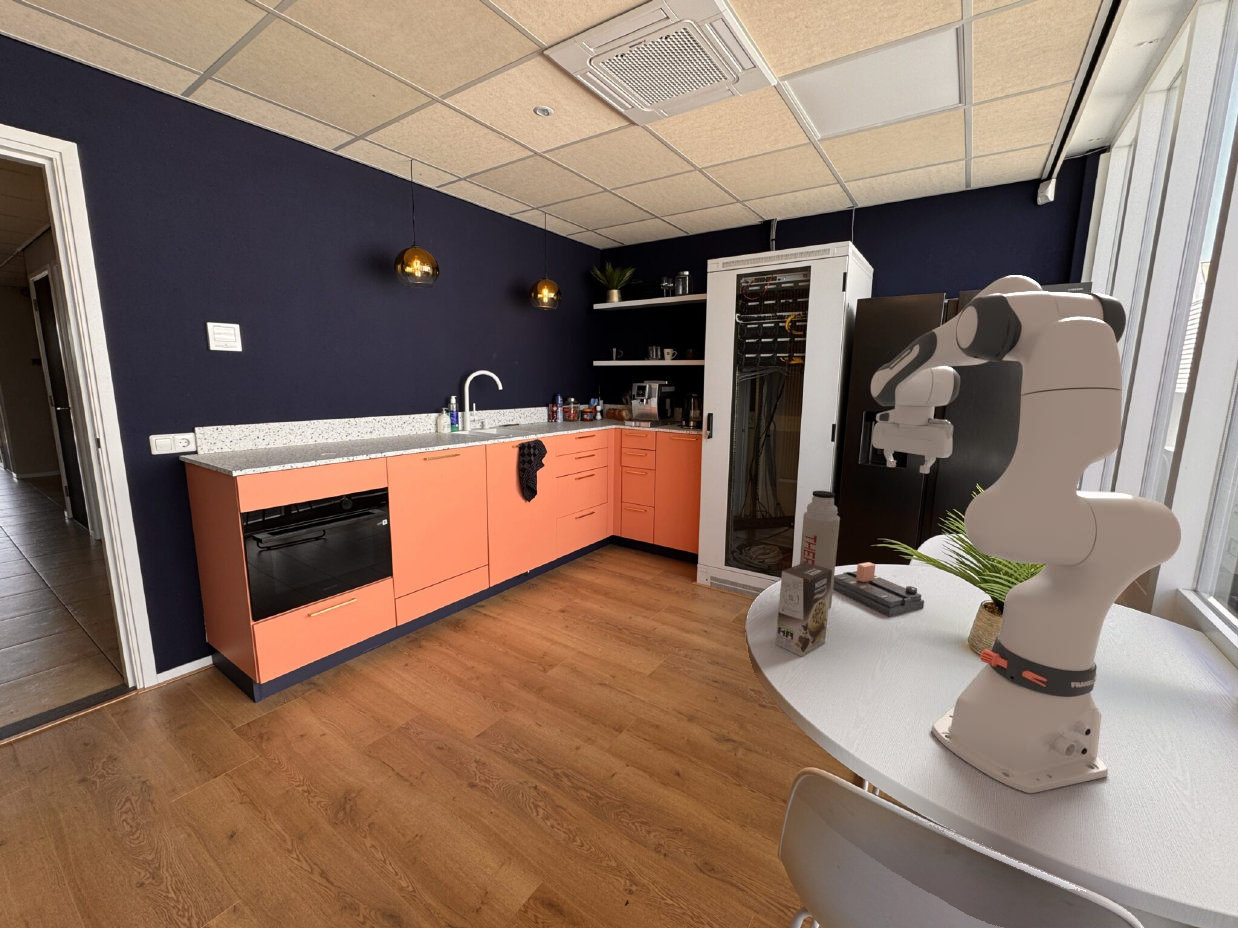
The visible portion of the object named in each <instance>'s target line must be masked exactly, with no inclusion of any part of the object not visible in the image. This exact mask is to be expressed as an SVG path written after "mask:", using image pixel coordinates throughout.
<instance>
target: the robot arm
mask: <svg viewBox="0 0 1238 928" xmlns="http://www.w3.org/2000/svg"><path fill="white" fill-rule="evenodd" d="M1126 326H1127V315H1126V311H1125V309H1124V306H1123V304H1122V302H1120V300H1119V299H1117V298H1115V297H1113V296H1110V295H1107V294H1101V293H1096V292H1095V293H1094V292H1082V293H1073V292H1055V291H1054V292H1052V291H1045V290H1043V288H1042V287H1041V285H1040V284H1039V283H1038V282H1037V281H1035V280H1034V279H1032V278H1030V277H1027V276H1025V275H1024V276H1023V275H1008V276H1007V275H1006V276H1004V277H1001V278H998V279H997V280H994V281H993V282H991V284H989V285H988V286H986V287H985V288H984V289H983V290H982V291H980V292H978V294H977V295H975V296H974V297H973V298H972V299H971V300H970V301H969V302H968V303H967V304H966V305H965V307H963V309H962V310H960V312H959V313H958V314H957V315H955V316H954V317H953V318H951V319H950V320H948V321H947V322H945V323H944V324H942V325H940V326H939V327H936V328H934V329H932V330H931V331H927V332H926V333H924V334H922V335H920V336H919V337H917V338H916V339H915V340H914V341H912V342H911V343H910V344H908V346H907V347H905V348H904V349H903V350H902V351H901V352H900V353H899V354H898V355H897V356H895V357H894V358H893V359H892V360H891V361H890V362H887V363H885V364H883V365H882V366H881V367H879V368H878V369H877V370H876V371H875V372H874V373H873V375H872V378H871V382H870V394H871V397H872V398H873V399H874V401H876V403H878V405H880V406H882V407H894V408H893V409H890V410H887V411H883V412H879V413H877V414H876V415H875V416H876V417H875V420H876V421H877V422H876V424H875V425H874V428H873V432H872V439H871V441H872V442H871V444H872V445H873V447H874V448H875V449H882V450H883V455H884V457H885V459H886V467H889V468H896V466H897V464H896V463H897V460H895V459H894V457H893V454H894V453H895V452H901V453H907V454H914V455H919V456H924V460H925V461H926V462H925V463H924V464H923V465H920V466H919V473H922V474H929V473H930V469H931V467H932V465H933V464H935V462H936V460H937V459H936V458H938V459H941V458H943V459H944V458H945V459H946V458H949V457H950V456H951V455H952V454H953V444H954V443H953V435H954V434H953V433H954V426H953V424H952V423H951V422H950V421H949V420H948V419H939V418H938V419H937V418H934V416H935V415H934V414H935V408H936V407H942V406H947V405H949V404H950V403H952V402H953V401H954V400H955V399H956V398H957V397H958V395H959V393H960V387H961V376H960V375H959V373H958V371H956V370H955V369H954V368H953V367H958V366H959V367H961V366H965V367H966V366H975V365H981V364H985V363H988V362H996V363H1000V362H1002V361H1009V362H1010V361H1011V362H1013V361H1014V362H1019V363H1020V364H1021V366H1022V367H1021V368H1022V376H1021V377H1022V379H1021V387H1020V388H1021V389H1020V391H1021V392H1020V412H1019V413H1020V414H1019V415H1020V416H1019V428H1018V437H1017V443H1016V448H1015V450H1014V451H1015V452H1014V454H1013V456H1012V459H1011V460H1010V463H1009V464H1008V466H1007V468H1006V470H1004V472H1003V473H1002V474H1001V476H1000V477H999V478H998V479H997V480H996V481H995V482H994V483H993V484H992V485H991V486H989V487H988V488H986V489H985V490H984V491H982V492H980V493H979V494H977V495H976V496H975V497H974V498H973V499H972V500H971V501H970V503H969V504H968V507H966V510H965V513H964V521H963V523H964V531H965V534H966V536H967V538H968V540H969V543H970V544H971V545H972V546H973V547H974V548H975V549H976V550H977V551H978V552H979V553H980V554H982V555H986V556H989V557H992V558H995V559H999V560H1004V561H1009V562H1014V563H1017V564H1018V563H1019V564H1033V565H1044V567H1043V568H1041V570H1040V571H1039V572H1038V573H1037V574H1035V575H1034V576H1032V577H1031V578H1029V579H1027V580H1025V581H1022V582H1020V583H1018V584H1016V585H1014V586H1013V587H1012V588H1011V589H1010V590H1009V591H1008V592H1007V594H1006V596H1005V600H1004V605H1003V610H1002V611H1003V613H1002V617H1001V624H1000V629H999V634H998V635H997V636H996V638H995V640H994V642H993V643H992V645H991V648H990V649H988V648H985V649H983V650H982V651H981V653H980V657H979V658H980V661H981V662H983V663H986V664H985V665H984V666H983V668H982V669H980V671H979V672H978V673H977V674H976V675H975V677H974V678H973V679H972V680H971V681H970V682H969V684H968V685H967V686H966V687H965V689H964V690H963V691H962V692H961V693H960V694H959V696H958V697H957V699H956V702H955V704H954V706H952V707H951V708H950V709H949V710H947V711H946V712H945V713H944V714H942V716H940V717H939V718H938V719H937V720H936V721H935V722H934V723H933V724H932V727H931V732H932V733H933V734H934V736H935V737H936V739H938V740H939V742H940V743H942V744H943V746H945V747H946V748H948V749H949V750H950V751H952V753H954V754H955V755H956V756H957V757H959V758H961V759H962V760H964V761H965V762H966V763H968V764H969V765H971V766H972V767H974V768H976V769H977V770H979V771H981V772H982V773H984V774H985V775H987V776H989V777H990V778H992V779H995V780H996V781H998V782H1001V783H1003V784H1004V785H1006V786H1009V787H1011V788H1013V789H1016V790H1019V791H1022V792H1024V793H1028V794H1034V793H1039V792H1044V791H1048V790H1052V789H1057V788H1061V787H1066V786H1070V785H1075V784H1079V783H1084V782H1088V781H1092V780H1093V781H1094V780H1097V779H1102V778H1106V777H1108V775H1109V774H1108V771H1109V768H1108V766H1107V765H1106V763H1105V762H1103V760H1101V758H1099V756H1098V753H1099V752H1098V751H1099V743H1100V742H1099V741H1100V731H1101V725H1102V724H1101V722H1102V713H1101V712H1100V709H1099V708H1098V707H1097V705H1096V704H1095V701H1094V699H1093V696H1092V694H1091V692H1092V691H1093V690H1094V688H1095V687H1094V686H1095V683H1096V680H1097V674H1098V673H1097V669H1098V665H1097V663H1096V662H1095V657H1096V655H1097V654H1096V653H1097V648H1098V644H1099V640H1100V636H1101V632H1102V629H1103V625H1104V621H1105V620H1106V617H1107V614H1108V613H1109V612H1110V609H1111V608H1112V606H1113V605H1114V603H1115V602H1116V600H1118V598H1119V597H1120V595H1121V594H1122V593H1123V592H1124V591H1125V590H1126V589H1127V587H1128V586H1130V585H1131V584H1132V583H1133V582H1134V581H1135V580H1136V579H1138V578H1139V577H1140V576H1141V575H1143V574H1145V573H1146V572H1147V571H1149V570H1151V569H1153V568H1155V567H1158V566H1160V565H1162V564H1164V563H1166V562H1167V561H1169V560H1170V559H1171V558H1173V557H1174V555H1175V554H1176V552H1177V551H1178V549H1179V547H1180V544H1181V541H1182V540H1181V539H1182V529H1181V525H1180V522H1179V521H1178V518H1177V516H1176V515H1175V513H1174V512H1173V511H1172V510H1171V509H1170V508H1169V507H1168V506H1167V505H1165V503H1162V502H1160V501H1157V500H1154V499H1150V498H1147V497H1142V496H1138V495H1135V494H1129V493H1123V492H1118V491H1097V490H1078V486H1079V482H1080V479H1081V477H1082V476H1083V473H1084V472H1085V471H1086V470H1087V469H1088V468H1089V467H1090V465H1092V464H1094V463H1097V462H1100V461H1102V460H1104V459H1106V458H1107V457H1109V456H1111V455H1112V454H1113V453H1114V452H1116V450H1117V449H1118V448H1119V445H1120V444H1121V440H1122V409H1123V407H1122V404H1123V403H1122V400H1123V397H1122V396H1123V376H1122V375H1123V373H1122V365H1121V358H1120V357H1121V356H1120V352H1119V347H1118V343H1119V342H1120V340H1121V339H1122V338H1123V335H1124V332H1125V329H1126Z"/></svg>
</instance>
